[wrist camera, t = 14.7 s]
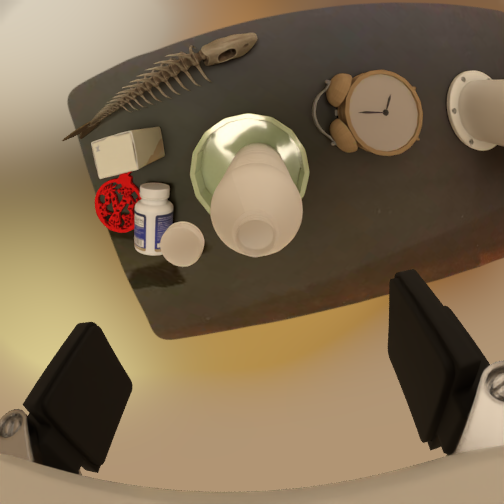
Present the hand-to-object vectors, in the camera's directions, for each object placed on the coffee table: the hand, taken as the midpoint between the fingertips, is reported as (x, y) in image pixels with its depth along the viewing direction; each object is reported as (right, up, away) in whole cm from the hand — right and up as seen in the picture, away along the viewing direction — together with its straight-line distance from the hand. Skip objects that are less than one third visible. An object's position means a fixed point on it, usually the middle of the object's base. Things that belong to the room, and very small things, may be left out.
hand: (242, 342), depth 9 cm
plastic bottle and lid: (0, +14, +31) cm, 34 cm away
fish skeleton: (-12, +24, +28) cm, 39 cm away
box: (-14, +17, +31) cm, 38 cm away
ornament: (-20, +6, +35) cm, 41 cm away
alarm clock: (+15, +21, +28) cm, 38 cm away
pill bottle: (-14, +3, +34) cm, 37 cm away
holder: (0, +14, +32) cm, 35 cm away
